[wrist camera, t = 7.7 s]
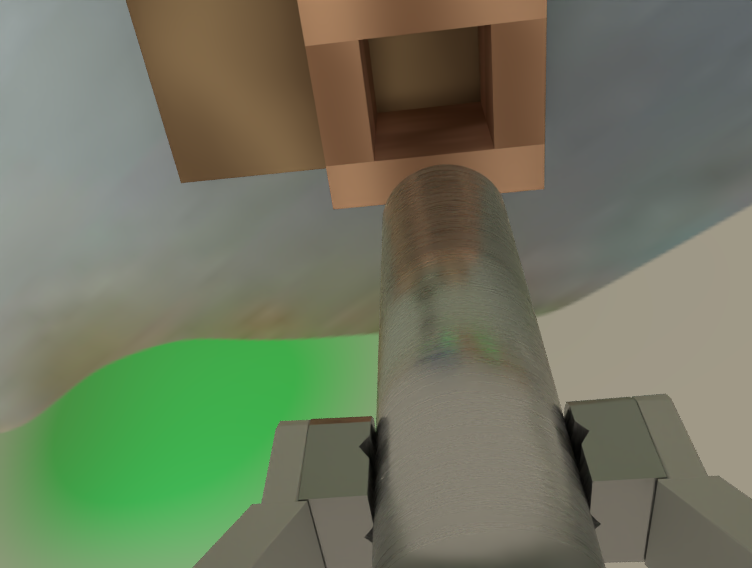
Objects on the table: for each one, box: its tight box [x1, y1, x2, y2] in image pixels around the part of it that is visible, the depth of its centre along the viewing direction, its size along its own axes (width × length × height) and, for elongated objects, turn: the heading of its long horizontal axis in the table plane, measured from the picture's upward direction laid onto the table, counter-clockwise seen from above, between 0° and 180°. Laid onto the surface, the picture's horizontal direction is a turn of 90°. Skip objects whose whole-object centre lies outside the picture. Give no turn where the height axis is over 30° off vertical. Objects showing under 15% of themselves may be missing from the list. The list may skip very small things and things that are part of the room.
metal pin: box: [372, 164, 606, 568], centre depth 13 cm, size 3×3×10 cm
